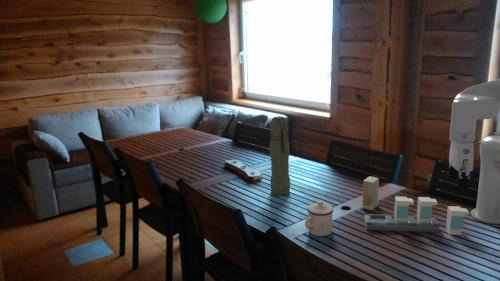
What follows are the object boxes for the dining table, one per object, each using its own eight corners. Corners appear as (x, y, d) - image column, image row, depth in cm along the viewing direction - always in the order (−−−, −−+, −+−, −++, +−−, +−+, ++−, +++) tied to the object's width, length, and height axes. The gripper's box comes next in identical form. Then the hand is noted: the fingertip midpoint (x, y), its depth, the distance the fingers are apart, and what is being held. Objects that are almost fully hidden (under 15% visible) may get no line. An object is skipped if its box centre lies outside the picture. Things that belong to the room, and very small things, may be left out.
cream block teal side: (432, 220, 148) (434, 197, 146) (436, 226, 143) (438, 202, 141) (416, 219, 149) (417, 197, 147) (419, 225, 144) (421, 202, 142)
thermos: (280, 198, 178) (279, 121, 169) (265, 190, 188) (263, 117, 179) (296, 193, 183) (295, 118, 174) (280, 186, 192) (278, 114, 183)
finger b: (410, 219, 149) (411, 196, 147) (413, 225, 145) (414, 202, 142) (393, 218, 150) (395, 196, 148) (396, 224, 146) (397, 201, 143)
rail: (433, 223, 150) (433, 215, 149) (439, 232, 143) (439, 224, 142) (364, 221, 154) (364, 214, 153) (366, 229, 147) (366, 222, 146)
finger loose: (462, 229, 144) (465, 206, 142) (467, 236, 140) (470, 212, 137) (445, 229, 145) (447, 206, 143) (450, 235, 141) (452, 212, 138)
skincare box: (368, 203, 170) (369, 175, 167) (378, 205, 167) (379, 177, 164) (361, 208, 165) (362, 180, 162) (372, 210, 162) (373, 182, 159)
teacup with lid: (319, 223, 154) (319, 194, 151) (338, 231, 147) (338, 201, 144) (296, 233, 147) (296, 203, 144) (315, 242, 140) (315, 211, 137)
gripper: (484, 142, 125) (479, 194, 129) (465, 129, 141) (460, 175, 146) (458, 142, 126) (454, 193, 131) (442, 129, 143) (438, 175, 147)
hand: (457, 183), depth 138 cm, fingers open, 9 cm apart
